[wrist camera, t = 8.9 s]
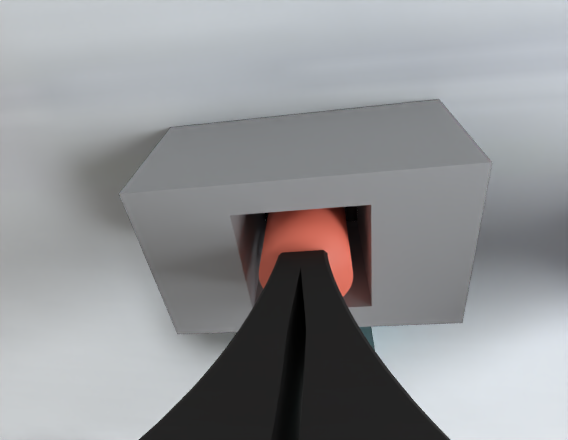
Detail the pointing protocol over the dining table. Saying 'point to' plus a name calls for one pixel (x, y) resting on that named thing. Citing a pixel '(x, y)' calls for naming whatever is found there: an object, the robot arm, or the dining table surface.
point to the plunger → (309, 240)
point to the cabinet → (314, 195)
